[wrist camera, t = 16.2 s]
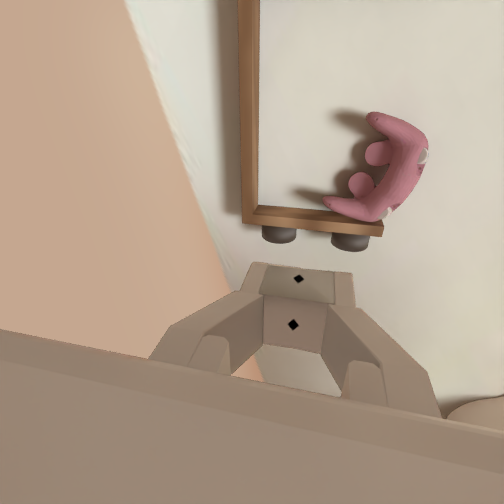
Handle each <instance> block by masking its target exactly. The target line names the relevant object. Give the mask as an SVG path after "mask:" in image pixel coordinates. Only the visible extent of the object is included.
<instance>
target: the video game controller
mask: <svg viewBox="0 0 504 504" xmlns="http://www.w3.org/2000/svg"><path fill="white" fill-rule="evenodd" d="M366 120H367V121H368V123H369V124H370V125H371V126H372V127H373V128H375V129H376V130H377V131H379V132H380V133H382V134H383V135H385V136H387V137H388V139H387V140H385V141H380V142H374V143H372V144H371V145H369V146H368V148H367V149H366V152H365V159H366V161H367V163H368V164H370V165H372V166H382V165H385V164H389V167H388V169H387V171H386V173H385V175H384V177H383V178H382V180H381V181H380V182H379V184H378V185H377V186H375V184H374V182H373V179H372V177H371V176H370V175H369V174H367V173H365V172H358V173H355V174H354V175H352V176H351V178H350V179H349V182H348V186H349V188H350V190H351V192H352V193H353V195H354V196H355V198H353V199H346V198H341V197H336V196H325V197H323V199H322V201H323V203H324V204H325V205H326V206H327V207H328V208H329V209H331V210H333V211H335V212H337V213H340V214H342V215H345V216H347V217H350V218H354V219H357V220H361V221H366V222H375V221H378V220H381V219H384V218H386V217H387V216H389V215H390V214H391V213H392V212H393V211H394V210H395V209H396V208H397V207H398V206H400V205H401V204H402V203H403V202H404V200H405V199H406V198H407V197H408V195H409V194H410V193H411V191H412V190H413V188H414V187H415V185H416V184H417V182H418V180H419V178H420V176H421V174H422V171H423V168H424V166H425V163H426V161H427V159H428V155H429V153H428V141H427V139H426V137H425V135H424V134H423V133H422V132H421V131H420V130H418V129H417V128H416V127H414V126H413V125H411V124H409V123H407V122H405V121H404V120H401V119H398V118H395V117H392V116H389V115H386V114H383V113H380V112H370V113H368V114H367V116H366Z"/></svg>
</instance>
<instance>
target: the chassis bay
mask: <svg viewBox="0 0 504 504" xmlns="http://www.w3.org/2000/svg"><path fill="white" fill-rule="evenodd" d="M259 36H260V0H238V43H239V92H240V141H241V189H242V223H245V224H255V225H262V237H263V238H264V239H265V240H266V241H268V242H271V243H278V244H283V243H289V242H291V241H293V240H294V239H295V238H296V229H305V230H316V231H326V232H332V237H331V243H332V244H333V245H334V246H335V247H336V248H338V249H341V250H344V251H350V252H359V251H363V250H365V249H366V248H367V247H368V243H369V238H370V236H376V237H382V234H383V230H384V225H383V222H382V219H381V220H378V221H375V222H366V221H361V220H357V219H354V218H350V217H347V216H345V215H342V214H340V213H337V212H335V211H323V210H312V209H300V208H288V207H277V206H265V205H258V143H259Z"/></svg>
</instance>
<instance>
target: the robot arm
mask: <svg viewBox="0 0 504 504" xmlns="http://www.w3.org/2000/svg"><path fill="white" fill-rule="evenodd" d="M263 344H269V345H276V346H282V347H289V348H295V349H300V350H305V351H309V352H314V353H319V354H321V357H322V359H323V360H324V362H325V364H326V366H327V367H328V369H329V371H330V373H331V374H332V376H333V378H334V380H335V381H336V383H337V385H338V387H339V388H340V390H341V392H342V393H341V397H340V398H339V397H334V396H329V395H324V394H319V393H314V392H309V391H304V390H299V389H294V388H289V387H284V386H279V385H274V384H269V383H264V382H259V381H254V380H249V379H244V378H239V377H234V376H231V374H232V373H234V372H235V371H236V370H237V369H238V368H239V367H240V366H241V365H242V364H243V363H244V362H245V361H246V360H247V359H248V358H250V356H252V355H253V354H254V353H255V352H256V351H257V350H258V349H259V348H260V347H261V346H262V345H263ZM0 504H504V396H501V397H497V398H490V399H483V400H477V401H473V402H470V403H467V404H464V405H462V406H460V407H458V408H456V409H455V410H454V411H452V412H451V413H450V414H449V415H448V417H447V418H446V419H442V416H441V413H440V410H439V407H438V404H437V401H436V398H435V395H434V391H433V388H432V385H431V382H430V379H429V376H428V373H427V371H426V370H425V369H424V368H423V367H422V366H421V365H419V364H418V363H417V362H416V361H415V360H414V359H413V358H412V357H411V356H410V355H409V354H408V353H407V352H406V351H405V350H404V349H403V348H402V347H401V346H400V345H399V344H398V343H397V342H396V341H394V340H393V339H392V338H391V337H390V336H389V335H388V334H387V333H386V332H385V331H384V330H383V329H382V328H381V327H380V326H379V325H378V324H377V323H376V322H375V321H374V320H373V319H372V318H371V317H369V316H368V315H367V314H366V313H365V312H364V311H363V310H362V309H361V308H356V304H355V295H354V285H353V276H352V274H351V273H346V272H332V271H322V270H311V269H301V268H297V267H290V266H283V265H276V264H268V263H261V262H253V263H252V264H251V266H250V268H249V271H248V273H247V275H246V278H245V280H244V282H243V284H242V287H241V289H240V291H234V292H232V293H230V294H228V295H226V296H224V297H223V298H221V299H219V300H217V301H216V302H213V303H212V304H210V305H208V306H206V307H204V308H203V309H201V310H199V311H197V312H195V313H193V314H192V315H190V316H188V317H186V318H184V319H182V320H181V321H179V322H177V323H175V324H173V325H171V326H170V327H169V328H168V330H167V331H166V333H165V334H164V336H163V337H162V339H161V340H160V342H159V343H158V345H157V346H156V348H155V349H154V351H153V352H152V354H151V355H150V357H149V358H148V359H145V358H140V357H135V356H130V355H125V354H121V353H116V352H111V351H106V350H100V349H95V348H91V347H86V346H81V345H76V344H71V343H66V342H61V341H56V340H51V339H46V338H41V337H36V336H31V335H26V334H22V333H16V332H12V331H7V330H2V329H0Z"/></svg>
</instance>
